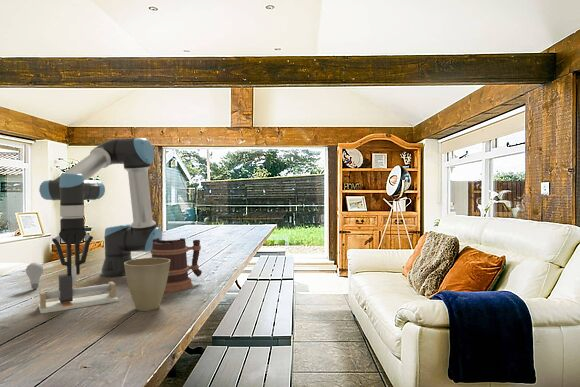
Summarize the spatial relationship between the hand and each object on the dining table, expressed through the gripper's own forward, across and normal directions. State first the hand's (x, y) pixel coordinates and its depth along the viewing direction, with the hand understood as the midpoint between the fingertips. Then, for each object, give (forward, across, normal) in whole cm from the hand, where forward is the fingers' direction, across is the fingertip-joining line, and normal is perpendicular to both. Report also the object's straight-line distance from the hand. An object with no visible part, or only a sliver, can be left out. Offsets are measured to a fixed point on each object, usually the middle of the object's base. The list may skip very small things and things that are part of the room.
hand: (73, 284), depth 144 cm
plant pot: (+8, -20, +20) cm, 29 cm away
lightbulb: (+7, +10, -35) cm, 37 cm away
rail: (+7, -2, 0) cm, 7 cm away
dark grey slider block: (+5, +3, 0) cm, 6 cm away
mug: (+8, -38, -5) cm, 39 cm away
